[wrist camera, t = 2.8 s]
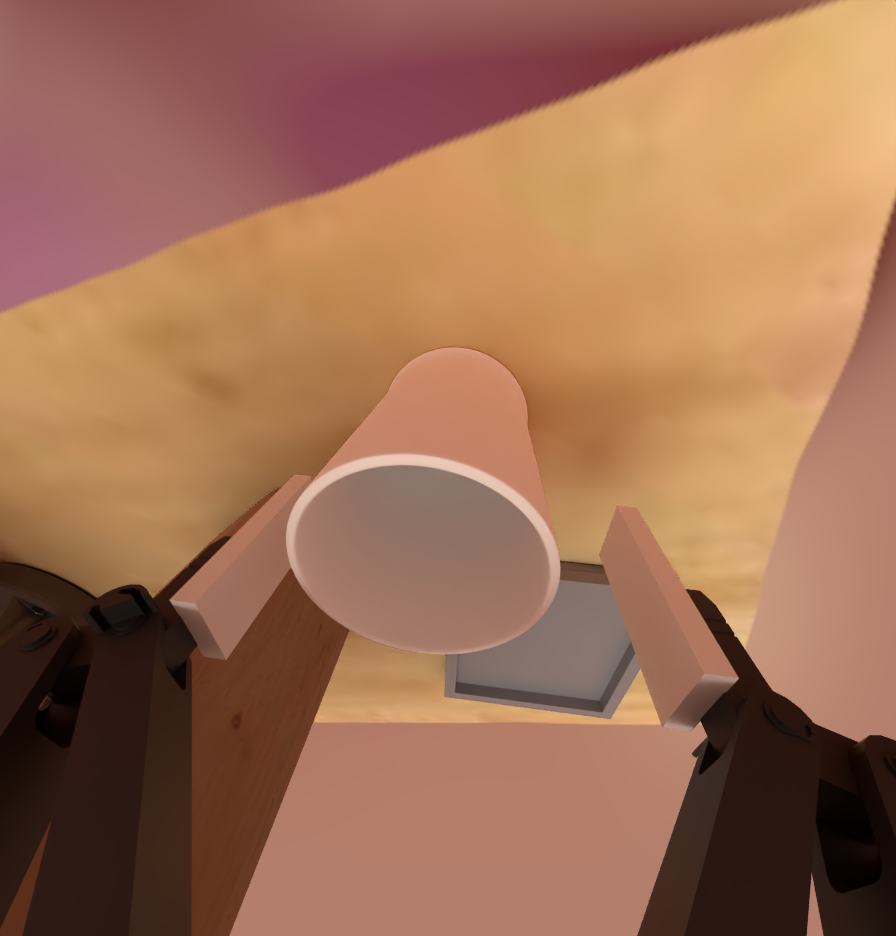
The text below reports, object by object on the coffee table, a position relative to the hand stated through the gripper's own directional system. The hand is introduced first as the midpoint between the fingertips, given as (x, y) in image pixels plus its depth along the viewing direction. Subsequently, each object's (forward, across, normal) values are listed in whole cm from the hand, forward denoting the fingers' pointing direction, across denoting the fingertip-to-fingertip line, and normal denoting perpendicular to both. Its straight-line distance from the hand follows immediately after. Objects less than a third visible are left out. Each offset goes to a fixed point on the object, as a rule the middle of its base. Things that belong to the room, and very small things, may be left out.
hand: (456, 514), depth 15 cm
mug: (+7, 0, 0) cm, 7 cm away
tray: (+7, +8, -18) cm, 21 cm away
